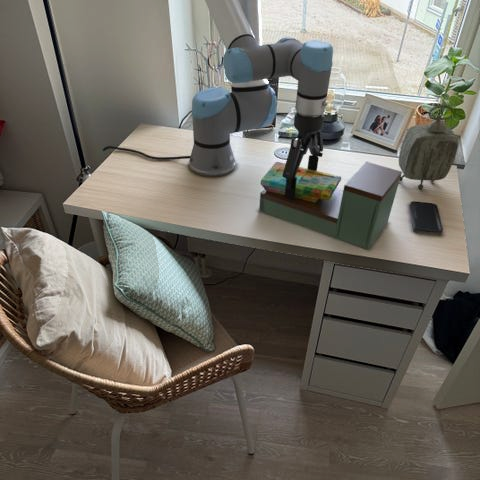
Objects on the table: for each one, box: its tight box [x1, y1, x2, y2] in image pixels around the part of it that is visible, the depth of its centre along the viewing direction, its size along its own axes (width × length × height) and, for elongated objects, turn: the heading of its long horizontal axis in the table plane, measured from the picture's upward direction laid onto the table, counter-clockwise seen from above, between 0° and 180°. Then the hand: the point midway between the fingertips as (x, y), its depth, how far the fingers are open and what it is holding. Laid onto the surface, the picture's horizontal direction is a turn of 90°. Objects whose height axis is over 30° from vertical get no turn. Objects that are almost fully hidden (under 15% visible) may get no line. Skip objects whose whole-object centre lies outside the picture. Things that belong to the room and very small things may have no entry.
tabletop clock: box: [398, 104, 460, 190], centre depth 140 cm, size 14×9×25 cm, turn 91°
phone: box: [409, 200, 444, 236], centre depth 135 cm, size 8×1×15 cm
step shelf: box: [258, 161, 403, 250], centre depth 130 cm, size 34×15×16 cm, turn 58°
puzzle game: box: [260, 161, 342, 202], centre depth 132 cm, size 12×5×20 cm
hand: (300, 187), depth 133 cm, fingers open, 13 cm apart
